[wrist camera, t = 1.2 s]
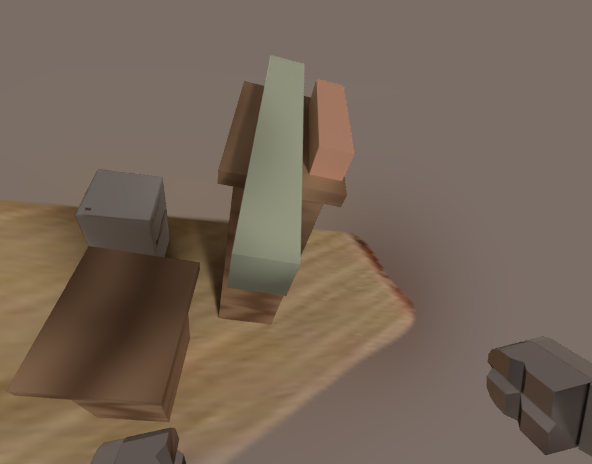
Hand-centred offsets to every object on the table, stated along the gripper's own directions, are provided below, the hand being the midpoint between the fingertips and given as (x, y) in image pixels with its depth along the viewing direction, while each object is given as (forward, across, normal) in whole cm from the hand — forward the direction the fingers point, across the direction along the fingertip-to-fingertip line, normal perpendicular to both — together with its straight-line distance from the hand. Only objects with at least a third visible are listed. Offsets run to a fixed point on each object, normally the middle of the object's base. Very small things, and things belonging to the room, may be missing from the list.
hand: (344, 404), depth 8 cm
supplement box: (+38, +18, +7) cm, 43 cm away
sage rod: (+17, -1, -5) cm, 18 cm away
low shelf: (+26, +16, +17) cm, 35 cm away
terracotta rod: (+20, -6, -6) cm, 22 cm away
